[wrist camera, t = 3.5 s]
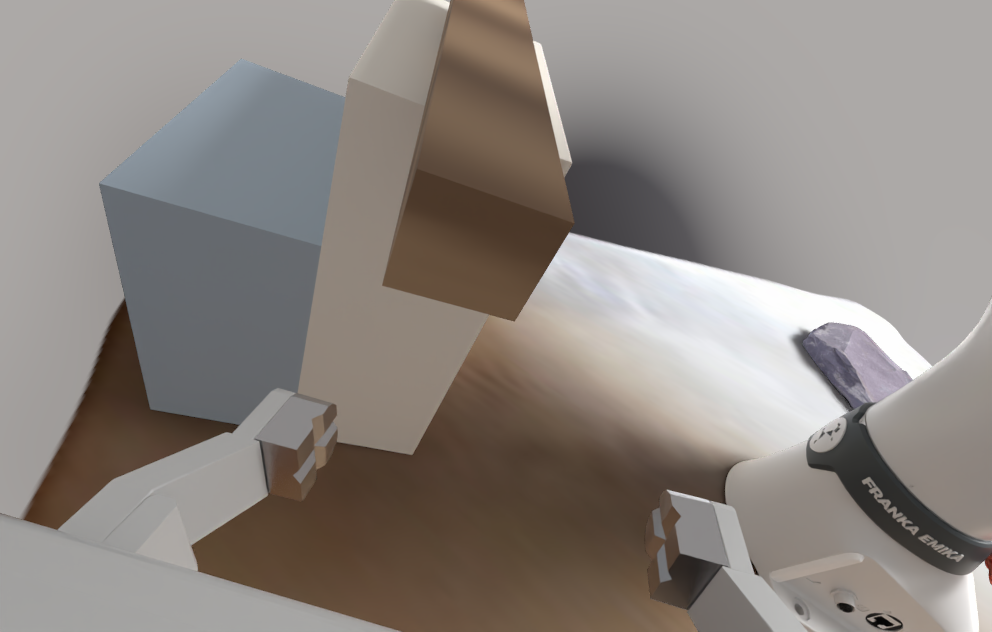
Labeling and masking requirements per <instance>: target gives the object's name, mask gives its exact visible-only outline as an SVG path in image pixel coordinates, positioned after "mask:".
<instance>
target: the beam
mask: <svg viewBox="0 0 992 632" xmlns="http://www.w3.org/2000/svg"><path fill="white" fill-rule="evenodd" d="M573 225H574V219H573V214H572V210H571V206H570V201H569V197H568V193H567V188H566V184H565V179H564V175H563V170H562V166H561V162H560V157H559V153H558V148H557V144H556V140H555V135H554V131H553V126H552V122H551V118H550V113H549V109H548V105H547V100H546V96H545V91H544V87H543V83H542V78H541V74H540V69H539V65H538V61H537V56H536V52H535V47H534V43H533V39H532V34H531V30H530V25H529V21H528V17H527V12H526V8H525V3H524V0H451V1H450V5H449V8H448V12H447V16H446V20H445V24H444V29H443V33H442V37H441V41H440V45H439V49H438V54H437V58H436V62H435V66H434V70H433V74H432V79H431V83H430V87H429V91H428V95H427V100H426V104H425V108H424V112H423V116H422V120H421V125H420V129H419V133H418V137H417V141H416V146H415V150H414V154H413V158H412V162H411V166H410V171H409V175H408V179H407V183H406V187H405V192H404V196H403V200H402V204H401V208H400V212H399V217H398V221H397V225H396V229H395V233H394V238H393V242H392V246H391V250H390V254H389V258H388V263H387V267H386V271H385V275H384V279H383V283H382V286H385V287H389V288H393V289H396V290H400V291H404V292H407V293H411V294H415V295H418V296H422V297H426V298H430V299H433V300H437V301H441V302H444V303H448V304H452V305H455V306H459V307H463V308H467V309H470V310H474V311H478V312H481V313H485V314H489V315H492V316H496V317H500V318H504V319H507V320H511V321H515V320H516V318H517V317H518V315H519V313H520V312H521V310H522V308H523V307H524V305H525V304H526V302H527V300H528V299H529V297H530V295H531V294H532V292H533V290H534V289H535V287H536V286H537V284H538V282H539V281H540V279H541V277H542V276H543V274H544V272H545V271H546V269H547V268H548V266H549V264H550V263H551V261H552V259H553V258H554V256H555V254H556V253H557V251H558V249H559V248H560V246H561V245H562V243H563V241H564V240H565V238H566V236H567V235H568V233H569V231H570V230H571V228H572V227H573Z"/></svg>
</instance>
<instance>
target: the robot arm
mask: <svg viewBox="0 0 992 632" xmlns="http://www.w3.org/2000/svg"><path fill="white" fill-rule="evenodd" d="M336 416H337V405H335V404H333V403H330V402H326V401H323V400H319V399H316V398H313V397H309V396H306V395H302V394H299V393H294V392H291V391H287V390H284V389H280V388H277V389H275V390H273V391H271V392H270V393H269V394H268V395H267V396H266V397H265V398H264V400H263V401H262V402H261V403H260V404H259V405H258V406H257V407H256V408H255V409H254V410H253V411H252V412H251V414H250V415H249V416H248V417H247V418H246V419H245V420H244V421H243V422H242V423H241V424H240V425H239V426H238V428H237V429H236V430H235V431H234V432H233V433H228V432H225V433H223V434H221V435H218V436H216V437H213V438H211V439H209V440H206V441H204V442H201V443H199V444H197V445H194V446H192V447H189V448H187V449H185V450H182V451H180V452H177V453H175V454H173V455H170V456H168V457H165V458H163V459H161V460H158V461H156V462H153V463H151V464H149V465H146V466H144V467H141V468H139V469H137V470H134V471H132V472H129V473H127V474H125V475H122V476H120V477H117V478H115V479H113V480H112V481H111V482H109V483H108V484H107V485H106V486H105V487H104V488H103V489H102V490H101V491H100V492H98V493H97V494H96V495H95V496H94V497H93V498H92V499H91V500H90V501H89V502H87V503H86V504H85V505H84V506H83V507H82V508H81V509H80V510H79V511H78V512H76V513H75V514H74V515H73V516H72V517H71V518H70V519H69V520H68V521H67V522H65V523H64V524H63V525H62V526H61V527H60V528H59V529H58V530H55V529H52V528H49V527H45V526H42V525H38V524H35V523H32V522H28V521H25V520H22V519H18V518H15V517H11V516H8V515H5V514H1V513H0V632H401V631H398V630H395V629H391V628H388V627H384V626H381V625H378V624H374V623H371V622H367V621H364V620H361V619H357V618H354V617H350V616H347V615H344V614H340V613H337V612H334V611H330V610H327V609H323V608H320V607H317V606H313V605H310V604H306V603H303V602H300V601H296V600H293V599H289V598H286V597H283V596H279V595H276V594H272V593H269V592H266V591H262V590H259V589H255V588H252V587H249V586H245V585H242V584H239V583H235V582H232V581H228V580H225V579H222V578H218V577H215V576H211V575H208V574H205V573H201V572H198V565H197V561H196V558H195V555H194V552H193V550H192V547H191V545H192V544H194V543H195V542H197V541H199V540H200V539H202V538H203V537H205V536H206V535H208V534H209V533H211V532H212V531H214V530H216V529H217V528H219V527H220V526H222V525H223V524H225V523H226V522H228V521H229V520H231V519H233V518H234V517H236V516H237V515H239V514H240V513H242V512H243V511H245V510H246V509H248V508H250V507H251V506H253V505H254V504H256V503H257V502H259V501H260V500H262V499H263V498H265V497H267V496H268V493H269V494H273V495H277V496H281V497H285V498H289V499H293V500H297V501H301V502H302V501H303V500H304V498H305V497H306V495H307V494H308V492H309V490H310V489H311V487H312V486H313V484H314V483H315V481H316V480H317V476H316V470H317V469H319V468H320V467H322V466H324V465H326V464H327V462H328V460H329V459H330V457H331V456H332V453H333V451H334V448H335V446H336V442H337V437H338V428H337V426H336V425H335V424H334V422H333V420H334V419H335V418H336ZM725 497H726V504H727V505H725V504H721V503H717V502H713V501H708V500H706V499H702V498H698V497H694V496H690V495H686V494H682V493H678V492H674V491H670V490H665V491H664V492H662V494H661V496H660V498H659V506H660V508H658V509H655V510H653V511H652V512H651V514H650V516H649V518H648V521H647V525H646V530H645V550H646V552H647V554H648V555H649V557H650V558H651V560H652V562H651V564H650V566H649V568H648V569H647V572H648V582H649V592H650V599H653V600H656V601H660V602H663V603H666V604H669V605H673V606H676V607H679V608H682V609H686V610H688V612H687V613H688V614H689V616H690V618H691V620H692V621H693V623H694V625H695V627H696V628H697V630H698V632H979V621H978V613H977V604H976V595H975V586H974V579H973V572H972V571H974V570H975V569H976V568H977V567H978V566H979V565H980V564H981V563H982V562H983V561H984V560H985V565H986V567H987V568H988V569H989V580H990V583H991V585H992V297H991V299H990V302H989V304H988V306H987V308H986V311H985V312H984V314H983V316H982V317H981V319H980V321H979V322H978V324H977V325H976V327H975V328H974V329H973V330H972V332H971V333H970V334H969V335H968V336H967V338H966V339H965V340H964V341H963V342H962V343H961V344H960V345H959V346H958V347H957V348H956V349H954V350H953V351H952V352H951V353H950V354H949V355H947V356H946V357H945V358H944V359H942V360H941V361H939V362H938V363H937V364H935V365H934V366H933V367H931V368H930V369H928V370H927V371H926V372H924V373H923V374H921V375H920V376H918V377H917V378H915V379H914V380H912V381H911V382H909V383H908V384H906V385H905V386H903V387H902V388H900V389H899V390H897V391H895V392H894V393H892V394H890V395H889V396H887V397H885V398H884V399H882V400H880V401H879V402H877V403H876V402H868V403H865V404H863V405H861V406H859V407H857V408H856V409H854V410H852V411H850V412H848V413H846V414H845V415H843V416H841V417H840V418H838V419H835V420H833V421H832V422H830V423H828V424H827V425H825V426H824V427H823V428H821V429H820V430H819V431H817V432H816V433H814V434H813V435H812V436H811V437H810V438H809V439H808V440H806V441H804V442H802V443H800V444H797V445H795V446H792V447H790V448H788V449H785V450H782V451H780V452H777V453H774V454H771V455H768V456H764V457H761V458H757V459H752V460H746V461H742V462H739V463H737V464H736V465H734V466H733V467H732V469H731V470H730V472H729V473H728V476H727V479H726V485H725ZM989 555H990V556H989ZM749 557H750V558H749ZM750 559H751V561H752V562H753V564H754V566H755V568H756V570H757V572H758V574H759V576H758V575H755V574H754V571H753V568H752V564H751V561H750Z"/></svg>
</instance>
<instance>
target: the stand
mask: <svg viewBox="0 0 992 632" xmlns="http://www.w3.org/2000/svg"><path fill="white" fill-rule="evenodd" d="M449 5H450V3H449V2H447V1H445V0H394V2H393V4H392V5H391V7H390V9H389V10H388V12H387V14H386V15H385V17H384V19H383V21H382V22H381V24H380V26H379V27H378V29H377V30H376V32H375V34H374V36H373V37H372V39H371V41H370V42H369V44H368V46H367V47H366V49H365V51H364V52H363V54H362V56H361V57H360V59H359V61H358V63H357V64H356V66H355V68H354V69H353V71H352V73H351V74H350V76H349V80H348V86H347V92H346V97H343V96H340V95H337V94H335V93H332V92H329V91H327V90H324V89H321V88H319V87H316V86H313V85H311V84H308V83H305V82H303V81H300V80H297V79H295V78H292V77H289V76H287V75H284V74H281V73H278V72H276V71H273V70H271V69H268V68H265V67H262V66H260V65H257V64H254V63H252V62H249V61H246V60H244V59H240V60H239V61H238V62H237V63H236V64H235V65H234V66H232V67H231V68H230V69H229V70H228V71H227V72H226V73H224V74H223V75H222V76H221V77H220V78H219V79H218V80H216V81H215V82H214V83H213V84H212V85H211V86H209V87H208V88H207V89H206V90H205V91H204V92H203V93H201V94H200V95H199V96H198V97H197V98H196V99H195V100H193V101H192V102H191V103H190V104H189V105H188V106H187V107H186V108H184V109H183V110H182V111H181V112H180V113H179V114H177V115H176V116H175V117H174V118H173V119H172V120H171V121H170V122H168V123H167V124H166V125H165V126H164V127H163V128H162V129H160V130H159V131H158V132H157V133H156V134H155V135H154V136H152V137H151V138H150V139H149V140H148V141H147V142H146V143H144V144H143V145H142V146H141V147H140V148H139V149H138V150H136V151H135V152H134V153H133V154H132V155H131V156H130V157H128V158H127V159H126V160H125V161H124V162H123V163H122V164H120V165H119V166H118V167H117V168H116V169H115V170H114V171H112V172H111V173H110V174H109V175H108V176H107V177H106V178H105V179H103V180H102V181H101V182H100V183H99V186H100V190H101V194H102V199H103V203H104V208H105V212H106V216H107V221H108V225H109V230H110V234H111V238H112V243H113V247H114V251H115V256H116V261H117V265H118V269H119V274H120V278H121V283H122V287H123V291H124V296H125V300H126V305H127V309H128V313H129V318H130V322H131V327H132V331H133V335H134V340H135V344H136V349H137V353H138V358H139V362H140V366H141V371H142V375H143V380H144V384H145V388H146V393H147V397H148V402H149V406H150V409H151V410H157V411H163V412H169V413H174V414H180V415H186V416H192V417H197V418H203V419H209V420H215V421H220V422H226V423H232V424H237V425H240V424H241V423H242V422H243V421H244V420H245V419H246V418H247V417H248V416H249V415H250V414H251V412H252V411H253V410H254V409H255V408H256V407H257V406H258V405H259V404H260V403H261V402H262V401H263V400H264V398H265V397H266V396H267V395H268V394H269V393H270V392H271V391H273V390H275V389H277V388H280V389H284V390H287V391H291V392H294V393H299V394H302V395H306V396H309V397H313V398H316V399H319V400H323V401H326V402H330V403H333V404H335V405H337V416H336V418H335V419H334V420H333V422H334V424H335V425H336V426H337V428H338V437H337V442H341V443H346V444H352V445H358V446H364V447H369V448H375V449H381V450H387V451H392V452H398V453H404V454H409V455H413V453H414V451H415V449H416V448H417V446H418V444H419V442H420V440H421V438H422V437H423V435H424V433H425V431H426V429H427V427H428V426H429V424H430V422H431V420H432V418H433V417H434V415H435V413H436V411H437V409H438V407H439V406H440V404H441V402H442V400H443V398H444V396H445V395H446V393H447V391H448V389H449V387H450V385H451V384H452V382H453V380H454V378H455V376H456V374H457V373H458V371H459V369H460V367H461V365H462V364H463V362H464V360H465V358H466V356H467V354H468V353H469V351H470V349H471V347H472V345H473V343H474V342H475V340H476V338H477V336H478V334H479V332H480V331H481V329H482V327H483V325H484V323H485V322H486V320H487V318H488V316H489V314H485V313H481V312H478V311H474V310H470V309H467V308H463V307H459V306H455V305H452V304H448V303H444V302H441V301H437V300H433V299H430V298H426V297H422V296H418V295H415V294H411V293H407V292H404V291H400V290H396V289H393V288H389V287H385V286H382V283H383V279H384V275H385V271H386V267H387V263H388V258H389V254H390V250H391V246H392V242H393V238H394V233H395V229H396V225H397V221H398V217H399V212H400V208H401V204H402V200H403V196H404V192H405V187H406V183H407V179H408V175H409V171H410V166H411V162H412V158H413V154H414V150H415V146H416V141H417V137H418V133H419V129H420V125H421V120H422V116H423V112H424V108H425V104H426V100H427V95H428V91H429V87H430V83H431V79H432V74H433V70H434V66H435V62H436V58H437V54H438V49H439V45H440V41H441V37H442V33H443V29H444V24H445V20H446V16H447V12H448V8H449ZM533 43H534V47H535V52H536V56H537V61H538V65H539V69H540V74H541V78H542V83H543V87H544V91H545V96H546V100H547V105H548V109H549V113H550V118H551V122H552V126H553V131H554V135H555V140H556V144H557V148H558V153H559V157H560V162H561V166H562V170H563V175H564V177H565V175H566V173H567V172H568V170H569V168H570V166H571V164H572V160H571V156H570V152H569V149H568V145H567V141H566V137H565V133H564V130H563V126H562V122H561V119H560V114H559V110H558V107H557V103H556V99H555V95H554V92H553V88H552V84H551V80H550V76H549V73H548V69H547V65H546V61H545V58H544V54H543V50H542V46H541V44H540V43H537V42H535V41H533Z"/></svg>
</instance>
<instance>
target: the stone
mask: <svg viewBox="0 0 992 632" xmlns="http://www.w3.org/2000/svg"><path fill="white" fill-rule="evenodd" d="M803 346H804V348H805V349H806V351H807V352H808V354H809V355H810V356H811V358H812V359H813V360H814V362H815V363H816V364H817V366H818V367H819V368H820V369H821V371H822V372H823V373H824V374H825V375H826V376H827V378H828V379H829V381H830V382H831V383H832V384H833V385H834V386H835V388H836V389H837V390H838V391H839V392H840V393H841V394H842V395H843V396H844V397H845V398H846V399H847V400H848V401H849V403H850V405H851V407H853V408H854V409H856V408H857V407H859V406H861V405H863V404H865V403H868V402H876V403H877V402H879V401H880V400H882V399H884V398H885V397H887V396H889V395H890V394H892V393H894V392H895V391H897V390H899V389H900V388H902V387H903V386H905V385H906V384H908V383H909V382H911V381H912V378H911V377H910V376H909V375H908V373H907V372H906V371H903V370H902V369H901V368H900V367H899V366H898V365H896V364H895V363H894V362H893V361H892V360H891V359H890V358H889V357H888V356H887V355H886V354H885V353H884V352H883V351H882V350H881V349H880V348H879V347H878V345H877V344H876V343H875V342H874V341H873V340H872V339H871V338H870V337H869V336H868V335H867V334H866V333H865V332H864V331H862V330H861V329H859V328H857V327H855V326H851V325H845V324H840V323H826V324H825V325H823V326H820V327H819V328H817V329H814V330H813V331H812V332H811V333H810V334H809V335H808V337H807V338H806V339H805V340H803Z"/></svg>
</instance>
